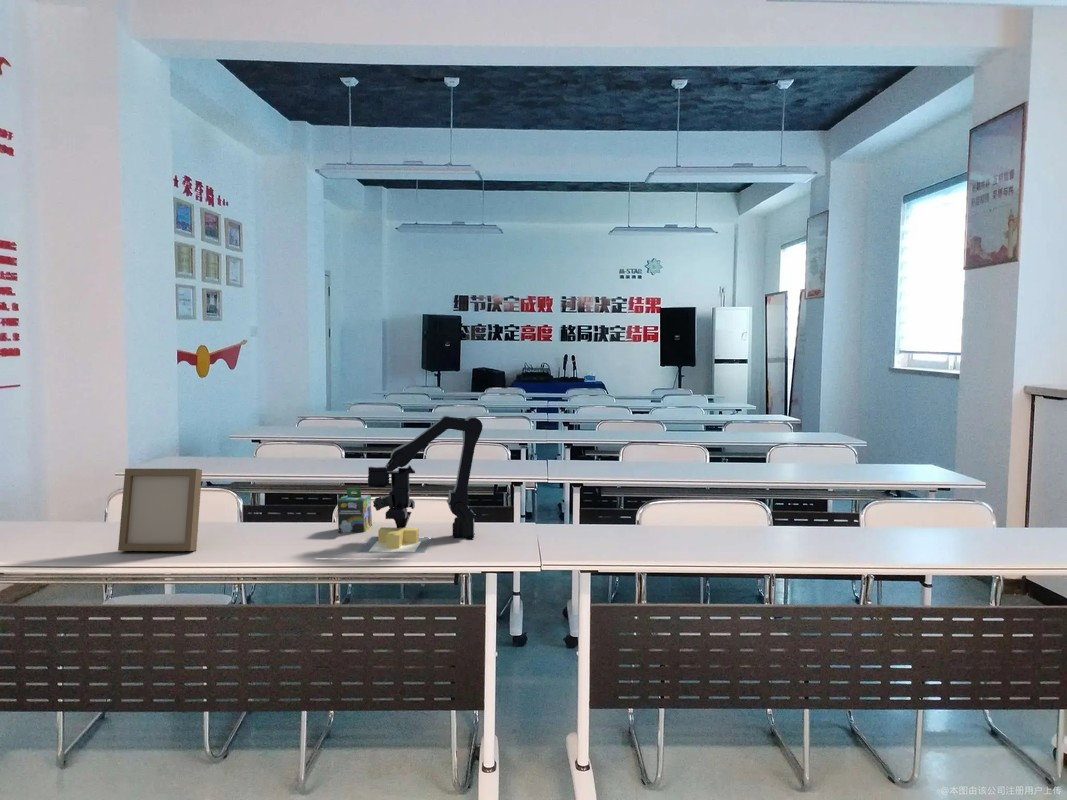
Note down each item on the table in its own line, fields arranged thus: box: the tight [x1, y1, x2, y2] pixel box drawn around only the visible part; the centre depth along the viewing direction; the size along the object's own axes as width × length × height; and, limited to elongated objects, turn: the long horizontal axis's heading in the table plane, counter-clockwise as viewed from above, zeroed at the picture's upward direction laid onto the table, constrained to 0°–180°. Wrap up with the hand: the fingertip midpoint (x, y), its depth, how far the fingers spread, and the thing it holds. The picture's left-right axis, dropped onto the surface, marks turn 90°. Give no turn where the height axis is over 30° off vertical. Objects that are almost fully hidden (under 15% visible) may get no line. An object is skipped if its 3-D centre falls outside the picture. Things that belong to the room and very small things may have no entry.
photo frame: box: [117, 468, 203, 552], centre depth 250 cm, size 15×22×25 cm
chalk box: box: [337, 487, 373, 533], centre depth 275 cm, size 9×9×15 cm
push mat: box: [357, 535, 433, 554], centre depth 254 cm, size 20×21×1 cm
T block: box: [377, 526, 420, 548], centre depth 254 cm, size 12×11×4 cm
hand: (400, 535), depth 261 cm, fingers closed
